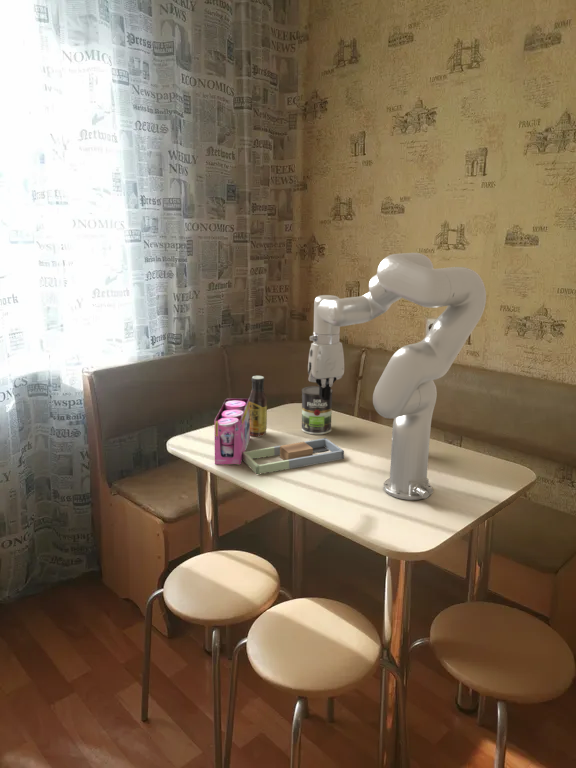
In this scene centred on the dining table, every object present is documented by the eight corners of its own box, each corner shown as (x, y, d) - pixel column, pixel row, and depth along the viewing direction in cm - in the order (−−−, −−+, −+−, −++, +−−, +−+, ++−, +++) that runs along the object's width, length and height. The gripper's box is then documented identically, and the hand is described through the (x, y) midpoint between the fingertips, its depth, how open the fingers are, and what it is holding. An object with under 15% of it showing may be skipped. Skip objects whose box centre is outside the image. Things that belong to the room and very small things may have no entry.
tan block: (312, 460, 173) (312, 448, 172) (288, 465, 170) (288, 452, 169) (303, 453, 179) (304, 441, 177) (280, 458, 175) (280, 445, 174)
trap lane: (343, 458, 174) (344, 450, 174) (256, 474, 163) (256, 466, 163) (325, 445, 184) (325, 438, 184) (242, 459, 173) (242, 452, 173)
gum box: (240, 467, 168) (239, 423, 165) (213, 466, 169) (211, 422, 165) (250, 437, 191) (249, 398, 188) (226, 437, 192) (225, 397, 188)
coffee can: (332, 435, 193) (333, 394, 190) (301, 434, 194) (301, 394, 190) (331, 424, 203) (332, 385, 199) (301, 424, 204) (301, 385, 200)
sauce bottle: (244, 433, 194) (242, 376, 189) (258, 429, 198) (257, 373, 193) (256, 439, 190) (255, 380, 184) (271, 434, 194) (270, 377, 188)
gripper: (309, 343, 162) (307, 405, 167) (355, 339, 168) (352, 399, 173) (297, 338, 169) (296, 398, 174) (342, 334, 175) (340, 392, 180)
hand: (324, 398), depth 173 cm, fingers closed
